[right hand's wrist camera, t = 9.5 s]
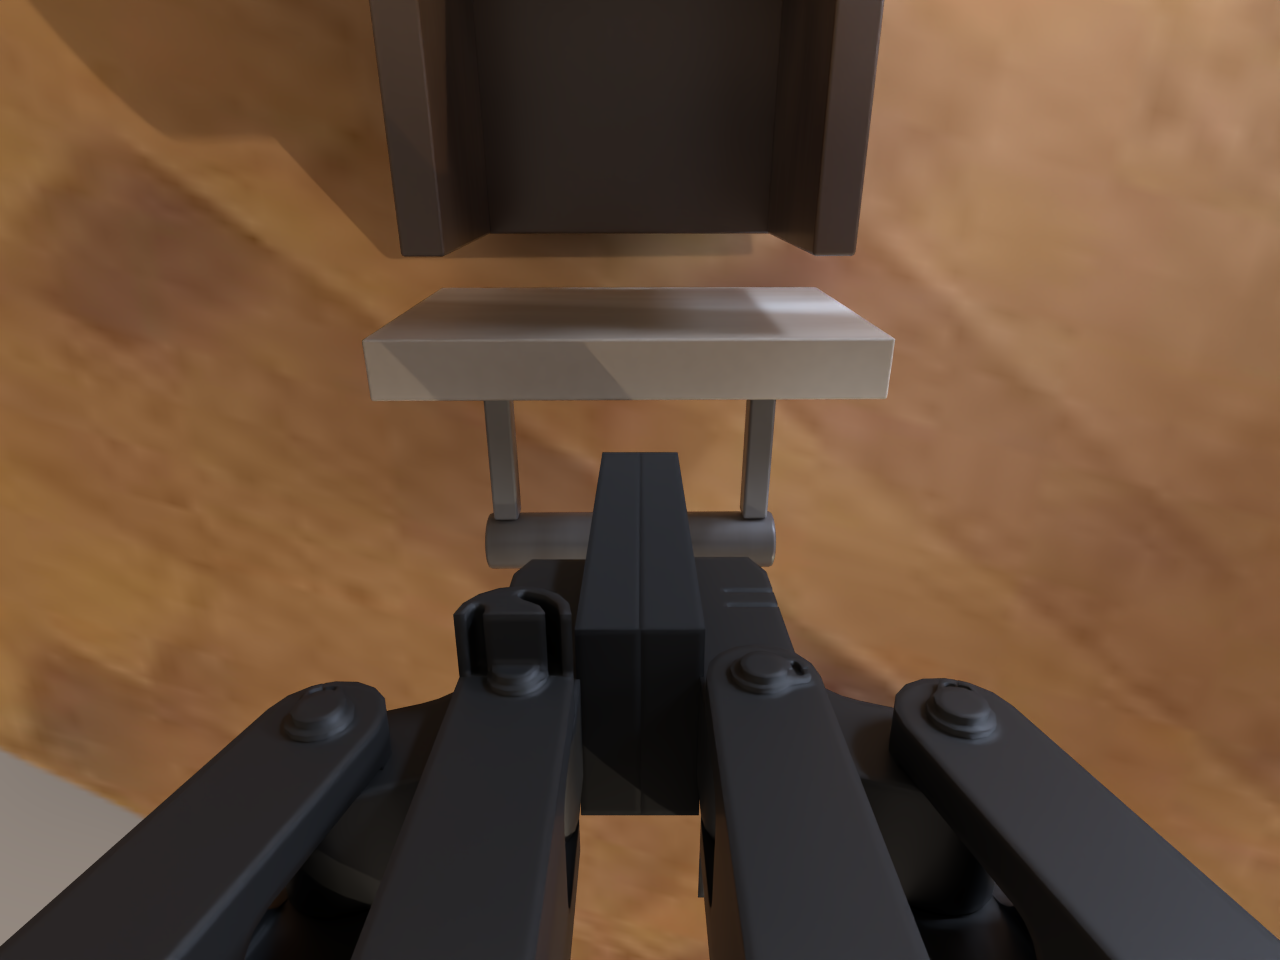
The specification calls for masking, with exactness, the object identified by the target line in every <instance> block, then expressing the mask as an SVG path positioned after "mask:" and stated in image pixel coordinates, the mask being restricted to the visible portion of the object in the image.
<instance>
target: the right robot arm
mask: <svg viewBox="0 0 1280 960" xmlns="http://www.w3.org/2000/svg"><path fill="white" fill-rule="evenodd" d="M453 617H454V627H455V637H456V646H457V656H458V666H459V676H460V677H459V680H458V682H457V685H456V688H455V690H454V692H453V693H451V694H448V695H446V696H444V697H442V698H439V699H436V700H433V701H429V702H425V703H422V704H418V705H413V706H408V707H403V708H398V709H394V710H389V711H387V710H386V704H385V698H384V697H383V696H382V695H381V694H380V693H379V692H378V691H377V690H376V688H374V687H371V686H368V685H365V684H362V683H359V682H337V681H336V682H330V683H325V684H319V685H314V686H311V687H308V688H306V689H303V690H301V691H298V692H296V693H293V694H291V695H288V696H287V697H285V698H284V699H282V700H281V701H279V702H278V703H276V704H275V705H273V706H272V707H271V708H269V709H268V710H267V711H265V712H264V713H263V714H262V715H261V716H260V717H259V718H258V719H256V720H255V721H254V722H253V723H252V724H251V725H250V726H248V727H247V728H246V729H245V730H244V731H243V732H242V733H241V734H239V735H238V736H237V737H236V738H235V739H234V740H233V741H232V742H230V743H229V744H228V745H227V746H226V747H225V748H224V749H223V750H221V751H220V752H219V753H218V754H217V755H216V756H215V757H213V758H212V759H211V760H210V761H209V762H208V763H207V764H206V765H204V766H203V767H202V768H201V769H200V770H199V771H198V772H197V773H195V774H194V775H193V776H192V777H191V778H190V779H189V780H188V781H186V782H185V783H184V784H183V785H182V786H181V787H180V788H179V789H177V790H176V791H175V792H174V793H173V794H172V795H171V796H169V797H168V798H167V799H166V800H165V801H164V802H163V803H162V804H160V805H159V806H158V807H157V808H156V809H155V810H154V811H153V812H151V813H150V814H149V815H148V816H147V817H146V818H145V819H144V820H142V821H141V822H140V823H139V824H138V825H137V826H136V827H134V828H133V829H132V830H131V831H130V832H129V833H128V834H127V835H125V836H124V837H123V838H122V839H121V840H120V841H119V842H118V843H116V844H115V845H114V846H113V847H112V848H111V849H110V850H109V851H107V852H106V853H105V854H104V855H103V856H102V857H101V858H100V859H98V860H97V861H96V862H95V863H94V864H93V865H92V866H90V867H89V868H88V869H87V870H86V871H85V872H84V873H83V874H81V875H80V876H79V877H78V878H77V879H76V880H75V881H74V882H72V883H71V884H70V885H69V886H68V887H67V888H66V889H65V890H63V891H62V892H61V893H60V894H59V895H58V896H57V897H56V898H54V899H53V900H52V901H51V902H50V903H49V904H48V905H47V906H45V907H44V908H43V909H42V910H41V911H40V912H39V913H37V914H36V915H35V916H34V917H33V918H32V919H31V920H30V921H28V922H27V923H26V924H25V925H24V926H23V927H22V928H20V929H19V930H18V931H17V932H16V933H15V934H14V935H13V936H11V937H10V938H9V939H8V940H7V941H6V942H5V943H4V944H3V945H1V946H0V960H570V957H571V946H572V935H573V924H574V913H575V902H576V891H577V880H578V869H579V858H580V832H579V813H580V803H581V815H699V800H700V809H701V832H700V859H699V885H698V897H704V901H705V912H706V923H707V934H708V945H709V956H710V960H1280V940H1279V939H1277V938H1276V937H1275V936H1274V935H1273V934H1272V933H1271V932H1269V931H1268V930H1267V929H1266V928H1265V927H1264V926H1263V925H1262V924H1260V923H1259V922H1258V921H1257V920H1256V919H1255V918H1254V917H1252V916H1251V915H1250V914H1249V913H1248V912H1247V911H1246V910H1244V909H1243V908H1242V907H1241V906H1240V905H1239V904H1238V903H1236V902H1235V901H1234V900H1233V899H1232V898H1231V897H1230V896H1229V895H1227V894H1226V893H1225V892H1224V891H1223V890H1222V889H1221V888H1219V887H1218V886H1217V885H1216V884H1215V883H1214V882H1213V881H1211V880H1210V879H1209V878H1208V877H1207V876H1206V875H1205V874H1203V873H1202V872H1201V871H1200V870H1199V869H1198V868H1197V867H1196V866H1194V865H1193V864H1192V863H1191V862H1190V861H1189V860H1188V859H1186V858H1185V857H1184V856H1183V855H1182V854H1181V853H1180V852H1178V851H1177V850H1176V849H1175V848H1174V847H1173V846H1172V845H1170V844H1169V843H1168V842H1167V841H1166V840H1165V839H1164V838H1163V837H1161V836H1160V835H1159V834H1158V833H1157V832H1156V831H1155V830H1153V829H1152V828H1151V827H1150V826H1149V825H1148V824H1147V823H1145V822H1144V821H1143V820H1142V819H1141V818H1140V817H1139V816H1137V815H1136V814H1135V813H1134V812H1133V811H1132V810H1131V809H1130V808H1128V807H1127V806H1126V805H1125V804H1124V803H1123V802H1122V801H1120V800H1119V799H1118V798H1117V797H1116V796H1115V795H1114V794H1112V793H1111V792H1110V791H1109V790H1108V789H1107V788H1106V787H1104V786H1103V785H1102V784H1101V783H1100V782H1099V781H1098V780H1097V779H1095V778H1094V777H1093V776H1092V775H1091V774H1090V773H1089V772H1087V771H1086V770H1085V769H1084V768H1083V767H1082V766H1081V765H1079V764H1078V763H1077V762H1076V761H1075V760H1074V759H1073V758H1072V757H1070V756H1069V755H1068V754H1067V753H1066V752H1065V751H1064V750H1062V749H1061V748H1060V747H1059V746H1058V745H1057V744H1056V743H1054V742H1053V741H1052V740H1051V739H1050V738H1049V737H1048V736H1046V735H1045V734H1044V733H1043V732H1042V731H1041V730H1040V729H1039V728H1037V727H1036V726H1035V725H1034V724H1033V723H1032V722H1031V721H1029V720H1028V719H1027V718H1026V717H1025V716H1024V715H1023V714H1021V713H1020V712H1019V711H1018V710H1017V709H1016V708H1015V707H1013V706H1012V705H1011V704H1009V703H1008V702H1006V701H1005V700H1003V699H1002V698H1000V697H999V696H997V695H996V694H994V693H993V692H990V691H988V690H985V689H983V688H981V687H978V686H976V685H973V684H971V683H967V682H963V681H959V680H958V681H957V680H953V679H946V678H934V679H921V680H918V681H915V682H912V683H909V684H906V685H905V686H904V687H903V688H902V689H901V690H900V691H899V692H898V693H897V694H896V697H895V704H894V708H892V707H887V706H882V705H877V704H873V703H868V702H863V701H858V700H855V699H851V698H848V697H844V696H841V695H839V694H836V693H834V692H832V691H830V690H827V689H825V687H824V684H823V681H822V679H821V676H820V675H819V673H818V672H817V671H816V669H815V668H814V666H813V665H812V664H811V663H810V662H808V661H807V660H805V659H804V658H802V657H801V656H799V655H798V654H796V653H795V652H794V649H793V646H792V643H791V641H790V638H789V635H788V632H787V629H786V626H785V624H784V621H783V618H782V615H781V612H780V609H779V607H777V601H776V598H775V595H774V592H772V587H771V584H770V581H769V578H768V575H767V573H766V571H765V570H763V569H762V568H761V567H760V566H759V565H757V564H756V563H755V562H754V561H752V560H751V559H750V558H749V557H694V554H693V548H692V541H691V535H690V529H689V522H688V516H687V510H686V503H685V497H684V491H683V484H682V478H681V472H680V465H679V459H678V453H677V452H603V453H602V459H601V465H600V472H599V478H598V484H597V491H596V497H595V503H594V510H593V516H592V522H591V529H590V535H589V541H588V548H587V554H586V559H532V560H530V561H529V562H528V563H527V564H526V565H524V566H523V567H522V568H521V569H520V570H518V571H517V572H516V573H515V574H514V576H513V578H512V581H511V584H510V587H506V588H498V589H495V590H491V591H488V592H485V593H481V594H478V595H477V596H475V597H473V598H471V599H470V600H468V601H466V602H464V603H463V604H462V605H461V606H460V607H459V608H458V610H457V611H456V612H455V613H454V614H453Z"/></svg>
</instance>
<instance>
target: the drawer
mask: <svg viewBox="0 0 1280 960" xmlns="http://www.w3.org/2000/svg"><path fill="white" fill-rule="evenodd" d="M369 3H370V11H371V19H372V27H373V35H374V43H375V51H376V58H377V66H378V74H379V82H380V90H381V98H382V106H383V114H384V122H385V130H386V138H387V145H388V153H389V161H390V169H391V177H392V185H393V193H394V201H395V209H396V217H397V224H398V232H399V240H400V248H401V254H402V256H444V255H446V254H449V253H451V252H453V251H455V250H457V249H459V248H461V247H463V246H465V245H467V244H469V243H471V242H473V241H475V240H477V239H479V238H481V237H483V236H485V235H487V234H615V233H769V234H772V235H774V236H776V237H778V238H780V239H782V240H784V241H786V242H788V243H790V244H792V245H794V246H796V247H798V248H800V249H802V250H804V251H806V252H808V253H810V254H813V255H815V256H852V255H854V254H855V252H856V243H857V235H858V226H859V217H860V208H861V200H862V191H863V182H864V173H865V165H866V156H867V147H868V139H869V130H870V121H871V112H872V104H873V95H874V86H875V77H876V69H877V60H878V51H879V43H880V34H881V25H882V16H883V8H884V0H369ZM894 344H895V339H894V338H893V337H891V336H890V335H888V334H887V333H885V332H884V331H882V330H881V329H879V328H877V327H876V326H874V325H873V324H871V323H870V322H868V321H867V320H865V319H864V318H862V317H861V316H859V315H858V314H856V313H855V312H853V311H852V310H850V309H848V308H847V307H845V306H844V305H842V304H841V303H839V302H838V301H836V300H835V299H833V298H832V297H830V296H829V295H827V294H826V293H824V292H822V291H821V290H819V289H818V288H816V287H651V288H441V289H440V290H438V291H437V292H435V293H434V294H432V295H430V296H429V297H427V298H426V299H424V300H423V301H421V302H420V303H418V304H417V305H415V306H414V307H412V308H411V309H409V310H408V311H406V312H405V313H403V314H401V315H400V316H398V317H397V318H395V319H394V320H392V321H391V322H389V323H388V324H386V325H385V326H383V327H382V328H380V329H379V330H377V331H376V332H374V333H373V334H371V335H369V336H368V337H366V338H365V339H363V340H362V345H363V351H364V358H365V364H366V371H367V377H368V384H369V390H370V396H371V400H372V401H484V411H485V422H486V433H487V444H488V456H489V467H490V478H491V489H492V500H493V511H494V513H492V514H490V515H489V517H488V520H487V525H486V533H485V551H486V559H487V562H488V565H489V567H490V568H493V569H497V568H522V567H523V566H524V565H526V564H527V563H528V562H529V561H530V560H532V559H586V554H587V548H588V541H589V535H590V529H591V522H592V516H593V512H550V513H520V511H521V501H520V487H519V473H518V460H517V446H516V432H515V418H514V405H513V400H747V402H746V418H745V434H744V450H743V466H742V483H741V499H740V509H741V511H725V512H687V516H688V522H689V529H690V535H691V541H692V548H693V554H694V557H749V558H750V559H751V560H752V561H754V562H755V563H756V564H757V565H759V566H760V567H769V566H771V565H772V564H773V561H774V558H775V551H776V532H775V524H774V519H773V516H772V514H771V513H770V512H768V511H767V507H768V494H769V482H770V469H771V456H772V444H773V431H774V418H775V405H776V399H886V398H887V393H888V386H889V379H890V372H891V365H892V358H893V351H894Z"/></svg>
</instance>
